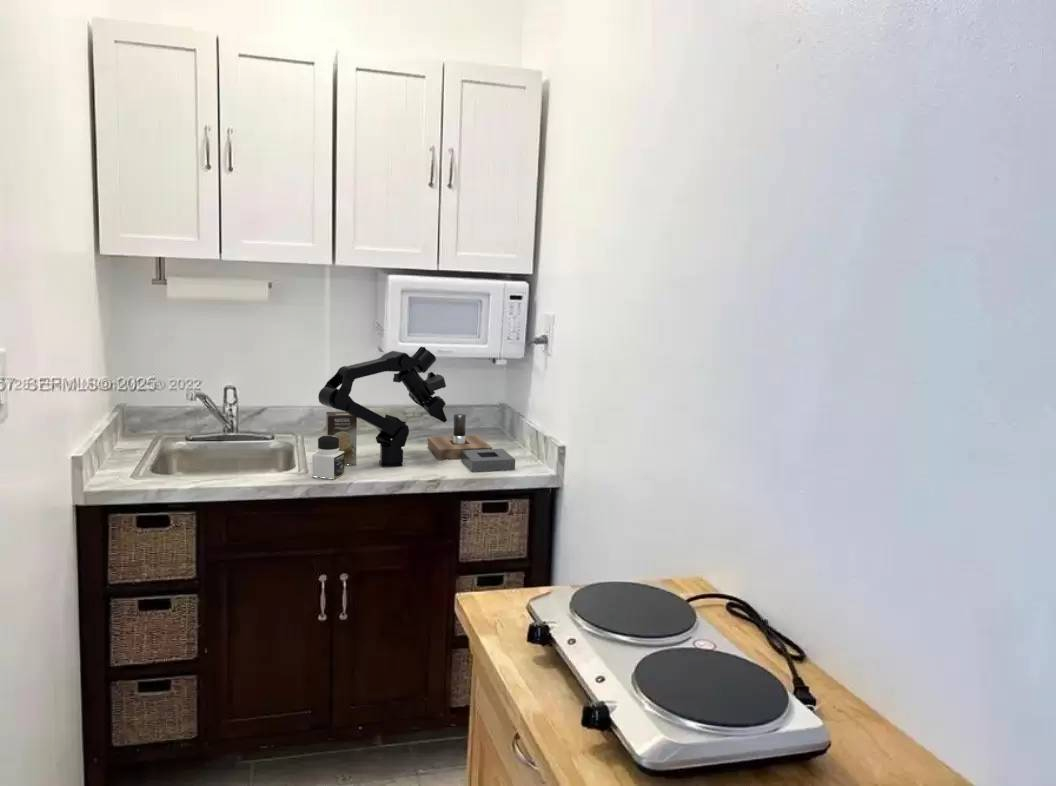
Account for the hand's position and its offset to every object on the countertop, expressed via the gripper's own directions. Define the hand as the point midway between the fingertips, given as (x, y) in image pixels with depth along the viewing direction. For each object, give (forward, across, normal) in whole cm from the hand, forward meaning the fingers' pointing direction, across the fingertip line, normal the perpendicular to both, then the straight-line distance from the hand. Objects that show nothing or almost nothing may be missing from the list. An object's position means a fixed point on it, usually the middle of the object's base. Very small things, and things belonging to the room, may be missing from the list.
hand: (440, 416), depth 263 cm
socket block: (+15, -17, -1) cm, 23 cm away
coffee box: (-10, +1, +34) cm, 35 cm away
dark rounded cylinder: (+16, +1, +2) cm, 16 cm away
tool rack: (+16, +1, +2) cm, 16 cm away
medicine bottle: (-16, -12, +38) cm, 43 cm away
